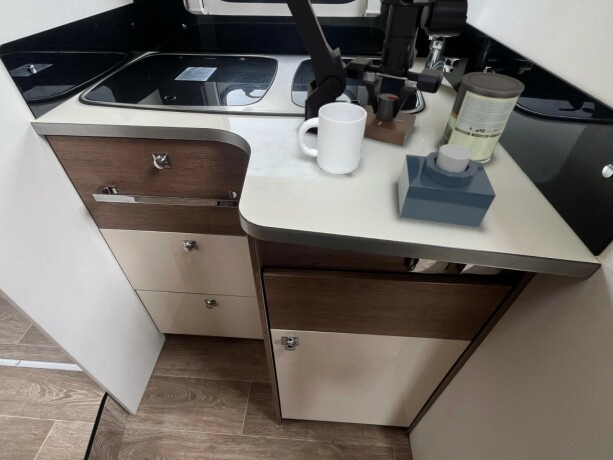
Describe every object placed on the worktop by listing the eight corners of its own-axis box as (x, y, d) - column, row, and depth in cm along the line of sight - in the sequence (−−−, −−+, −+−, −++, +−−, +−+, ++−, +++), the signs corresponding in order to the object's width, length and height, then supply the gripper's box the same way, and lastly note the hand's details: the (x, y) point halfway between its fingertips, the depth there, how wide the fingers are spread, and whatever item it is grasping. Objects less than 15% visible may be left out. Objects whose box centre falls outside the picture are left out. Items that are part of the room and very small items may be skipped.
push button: (437, 171, 46) (442, 157, 44) (433, 156, 49) (438, 142, 48) (468, 174, 46) (474, 160, 44) (463, 159, 49) (468, 145, 47)
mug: (296, 174, 58) (296, 120, 51) (297, 151, 64) (298, 101, 57) (361, 176, 58) (369, 123, 51) (356, 153, 64) (364, 102, 57)
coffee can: (428, 143, 68) (450, 73, 58) (468, 137, 70) (495, 69, 61) (459, 168, 61) (489, 94, 51) (502, 161, 63) (539, 88, 54)
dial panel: (349, 133, 71) (351, 119, 69) (364, 116, 77) (366, 104, 75) (402, 146, 67) (405, 132, 65) (413, 127, 73) (416, 114, 71)
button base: (399, 217, 50) (412, 174, 45) (397, 185, 57) (408, 144, 51) (478, 227, 49) (501, 184, 43) (467, 193, 55) (486, 152, 50)
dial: (373, 119, 69) (376, 96, 66) (378, 112, 72) (382, 90, 69) (390, 123, 68) (395, 100, 65) (395, 116, 71) (400, 94, 67)
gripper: (459, 32, 61) (435, 111, 72) (367, 21, 67) (358, 95, 78) (450, 44, 54) (424, 130, 65) (348, 31, 60) (340, 111, 71)
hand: (385, 115), depth 70 cm, fingers closed on dial, 4 cm apart
